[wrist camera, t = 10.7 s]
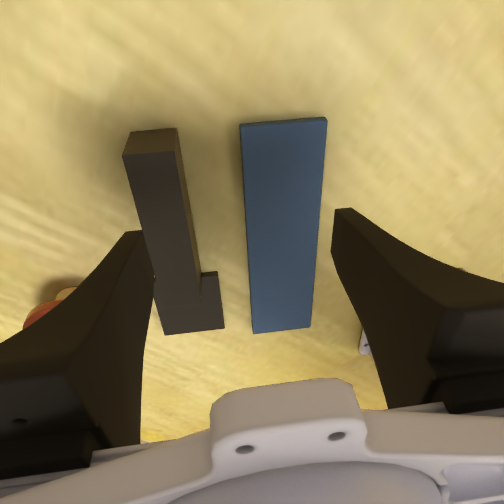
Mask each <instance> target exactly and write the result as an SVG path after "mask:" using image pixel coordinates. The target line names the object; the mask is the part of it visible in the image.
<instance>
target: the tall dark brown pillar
mask: <svg viewBox="0 0 504 504" xmlns="http://www.w3.org/2000/svg"><path fill="white" fill-rule="evenodd" d="M122 158H123V161H124V165H125V169H126V172H127V176H128V180H129V183H130V187H131V191H132V194H133V198H134V202H135V205H136V209H137V213H138V216H139V220H140V224H141V227H142V231H143V234H144V238H145V241H146V245H147V248H148V252H149V255H150V259H151V262H152V266H153V269H154V275H155V278H154V295H153V297H154V300H155V303H156V307H157V310H158V314H159V317H160V321H161V324H162V328H163V331H164V334H165V335H174V334H182V333H191V332H199V331H207V330H216V329H224V328H225V325H224V317H223V309H222V302H221V294H220V287H219V279H218V272H209V273H201V268H200V262H199V256H198V250H197V244H196V238H195V232H194V227H193V221H192V215H191V209H190V203H189V197H188V191H187V185H186V179H185V173H184V167H183V161H182V155H181V150H180V144H179V138H178V132H177V128H172V129H160V130H148V131H136V132H130V135H129V138H128V141H127V143H126V146H125V149H124V152H123V154H122Z"/></svg>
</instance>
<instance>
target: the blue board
mask: <svg viewBox="0 0 504 504" xmlns="http://www.w3.org/2000/svg"><path fill="white" fill-rule="evenodd" d="M326 133H327V119H326V118H325V117H319V118H307V119H295V120H283V121H271V122H259V123H247V124H240V139H241V155H242V171H243V187H244V202H245V218H246V234H247V250H248V266H249V282H250V297H251V313H252V329H253V334H259V333H267V332H276V331H284V330H292V329H301V328H309V327H310V326H311V314H312V302H313V290H314V278H315V266H316V254H317V242H318V230H319V218H320V205H321V193H322V181H323V169H324V157H325V145H326Z"/></svg>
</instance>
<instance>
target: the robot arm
mask: <svg viewBox="0 0 504 504" xmlns="http://www.w3.org/2000/svg"><path fill="white" fill-rule="evenodd" d="M331 254H332V258H333V261H334V265H335V268H336V271H337V274H338V276H339V278H340V280H341V282H342V284H343V286H344V289H345V291H346V293H347V295H348V297H349V299H350V301H351V303H352V305H353V307H354V309H355V311H356V313H357V315H358V318H359V320H360V322H361V325H362V327H363V331H362V336H361V340H360V345H359V353H360V354H362V355H366V354H370V355H371V357H372V359H373V362H374V364H375V366H376V369H377V371H378V375H379V378H380V382H381V385H382V388H383V392H384V395H385V399H386V402H387V406H388V409H387V410H369V409H360V407H359V404H358V401H357V399H356V396H355V393H354V390H353V387H352V385H351V384H349V383H346V382H344V381H342V380H340V379H338V378H317V379H309V380H302V381H294V382H287V383H280V384H272V385H265V386H257V387H250V388H242V389H239V390H235V391H232V392H228V393H226V394H224V395H223V396H222V397H220V398H219V399H218V400H216V401H215V402H214V403H213V404H212V407H211V411H210V428H209V429H206V430H203V431H200V432H197V433H194V434H191V435H188V436H185V437H182V438H179V439H174V440H167V441H160V442H153V443H146V444H140V424H141V391H142V371H143V356H144V348H145V341H146V336H147V330H148V324H149V319H150V313H151V307H152V301H153V295H154V269H153V266H152V262H151V259H150V255H149V252H148V248H147V245H146V241H145V238H144V234H143V231H142V230H137V231H128V232H125V233H124V234H123V235H122V237H121V238H120V239H119V240H118V242H117V243H116V244H115V245H114V247H113V248H112V249H111V250H110V252H109V253H108V254H107V255H106V257H105V258H104V259H103V260H102V261H101V263H100V264H99V265H98V266H97V267H96V268H95V269H94V271H93V272H92V273H91V274H90V275H89V276H88V277H87V278H86V279H85V280H84V281H83V282H82V283H81V284H80V285H79V286H78V287H77V288H76V289H75V290H74V291H73V292H72V293H71V294H70V295H68V296H67V297H66V298H65V299H64V300H63V301H61V302H60V303H59V304H58V305H57V306H55V307H54V308H53V309H51V310H50V311H49V312H47V313H46V314H45V315H43V316H42V317H41V318H39V319H38V320H37V321H35V322H34V323H32V324H31V325H29V326H28V327H26V328H25V329H23V330H22V331H20V332H18V333H17V334H15V335H14V336H12V337H10V338H9V339H7V340H5V341H4V342H2V343H0V504H504V283H501V282H497V281H494V280H490V279H487V278H484V277H480V276H477V275H474V274H471V273H468V272H466V271H465V270H460V269H457V268H455V267H452V266H450V265H447V264H445V263H442V262H440V261H438V260H435V259H433V258H431V257H429V256H427V255H425V254H423V253H421V252H419V251H417V250H415V249H413V248H412V247H410V246H408V245H406V244H405V243H403V242H401V241H400V240H398V239H396V238H395V237H393V236H392V235H390V234H389V233H387V232H386V231H384V230H383V229H381V228H380V227H378V226H377V225H375V224H374V223H373V222H371V221H370V220H368V219H367V218H366V217H364V216H363V215H361V214H360V213H358V212H357V211H356V210H354V209H353V208H351V207H350V208H341V209H335V214H334V224H333V234H332V243H331Z"/></svg>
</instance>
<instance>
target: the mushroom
mask: <svg viewBox="0 0 504 504" xmlns="http://www.w3.org/2000/svg"><path fill="white" fill-rule="evenodd" d="M76 288H77V287H70V288H66V289H63V290H62V291H60V292H59V293H58V294H57V296H56V298H55V300H54V301H49V302H45V303H43V304H40V305H38V306H37V307H35V308H34V309H32V310H31V312H30V313H29V314H28V316H27V318H26V320H25V322H24V325H23V329H25V328H26V327H28V326H29V325H31V324H32V323H34V322H35V321H37V320H38V319H39V318H41V317H42V316H43V315H45V314H46V313H47V312H49V311H50V310H51V309H53V308H54V307H55V306H57V305H58V304H59V303H60V302H61V301H63V300H64V299H65V298H66V297H67V296H68V295H70V294H71V293H72V292H73V291H74V290H75V289H76Z"/></svg>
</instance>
